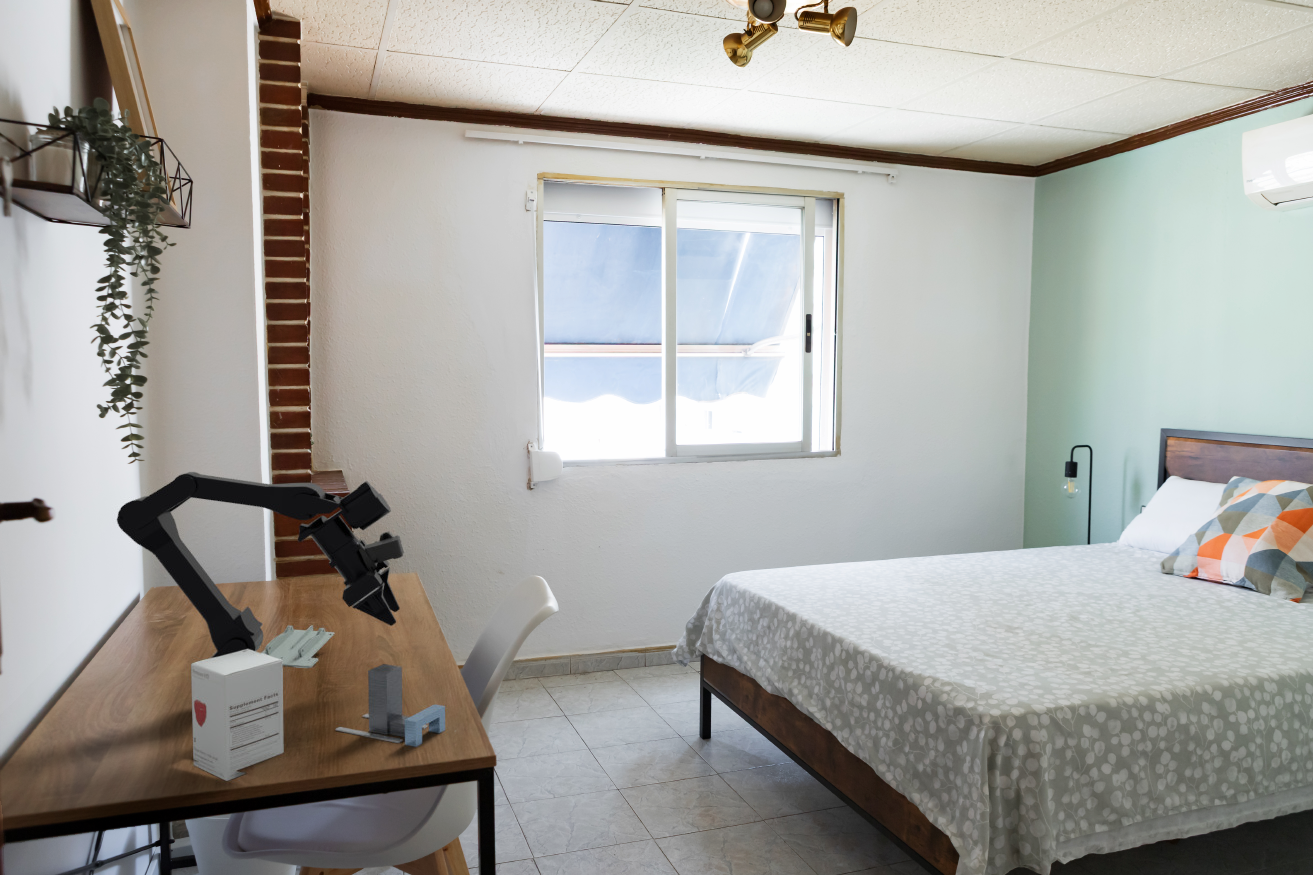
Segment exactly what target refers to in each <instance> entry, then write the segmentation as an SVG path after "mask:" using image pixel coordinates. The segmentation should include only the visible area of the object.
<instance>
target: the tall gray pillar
mask: <svg viewBox="0 0 1313 875" xmlns="http://www.w3.org/2000/svg"><path fill="white" fill-rule="evenodd" d="M402 667H403V666H398V665H392V664H386V663H383V664H381V665H378V666H376V667H373V668H372V669H369V670H367V672H368V674H367V677H368V683H367V684H368V687H367V688H368V689H367V690H368V714H369V718H368V731H369V733H374V734H379V735H384V736H388V735H391V736H396V737H401V738H405V719H407V718H409V717H410V716H408V715H404V714H403V668H402Z"/></svg>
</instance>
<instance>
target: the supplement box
mask: <svg viewBox="0 0 1313 875" xmlns="http://www.w3.org/2000/svg"><path fill="white" fill-rule="evenodd" d="M190 665H191V666H190V667H191V668H190V670H191V672H190V673H191V676H190V678H191V710H192V711H191V712H192V719H191V720H192V750H193V753H192V754H193V756H192V757H193V766H195V767H197V768H199V769H200V770H202V771H205V772H207V773H209V774H211V775H213V776H215V777H217V778H220V779H222V780H224V781H226V782H227V781H231V780H233V779H235V778H238V777H241V776H244V775H246V774H248V773H247V772H243V771H240V770H241V769H244V768H247V767H249V766H252V765H255V764H258V763H261V762H263V761H266V760H268V759H271V758H273V757H276V756H279V755H281V754H283V753H284V698H283V696H284V693H283V692H284V689H283V687H284V686H283V685H284V683H283V682H284V680H283V677H284V676H283V675H284V674H283V672H284V671H283V666H282V660H281V659H278V658H274V657H271V656H269V655H267V654H264V653H262V652H258V651H253V650H250V649H245V650H242V651H238V652H235V653H231V654H227V655H223V656H219V657H214V658H211V657H210V658H206V659H202V660H198V661H196V662H193V663H191V664H190ZM238 770H239V771H238Z"/></svg>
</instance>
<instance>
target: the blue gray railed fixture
mask: <svg viewBox="0 0 1313 875" xmlns="http://www.w3.org/2000/svg"><path fill="white" fill-rule="evenodd" d="M362 718H365V719H369V713H365V714H363V715H362ZM427 728H428V732H431V733H437V734H440V733H442V732H444V731H446V706H445V705H440V704H435V703H434V704H433V705H430V706H429V707H426V708H424V709H423V710H421V711H419V712H417V713H415V714H413V715H411V716H409V718H407V719H405V737H404V745H405V746H408V747H409V746H410V747H416V748H417V747H419V746H420V745H422V744H423V730H425V729H427ZM335 731H338V732H342V733H347V734H352V735H357V736H361V737H366V738H370V739H375V740H381V741H386V742H391V743H396V744H400V743H401V742H403V739H402V738H398V737H393V736H388V735H384V734H379V733H374V732H367V731H364V730H363V731H362V730H358V729H352V728H348V727H342V726H339V727H337V728H335Z"/></svg>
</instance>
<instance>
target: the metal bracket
mask: <svg viewBox="0 0 1313 875" xmlns="http://www.w3.org/2000/svg"><path fill="white" fill-rule="evenodd" d="M333 636H335V632H334V631H333V632H332V631H326V629H325V627H319V628H318V630H314V625H310V626H309V627H308V628H307V629H305V630H303V629H294V627H293V625H287V626H286V628H285V630H284V631H283V632H282V633H280V634H279V635H277V636H275V637H274V638H273V639H271V641H270V642H269V643H268V644H266V645H265V648H264V650H263V651H261V653H264V654H267V655H269V656H271V657H274V658H278V659H281V660H282V667H291V668H292V667H293V668H300V669H301V668H302V669H310V668H311V669H312V668H313V666H314V665H315V664H316V663H317V662H318V661H319V658H317V657H314V655H315V654H316V653H317V652H318V651H319V650H321V648H322V647H324V645H325V644H326V643H327V642H328V641H330V639H331V638H332V637H333Z"/></svg>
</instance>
